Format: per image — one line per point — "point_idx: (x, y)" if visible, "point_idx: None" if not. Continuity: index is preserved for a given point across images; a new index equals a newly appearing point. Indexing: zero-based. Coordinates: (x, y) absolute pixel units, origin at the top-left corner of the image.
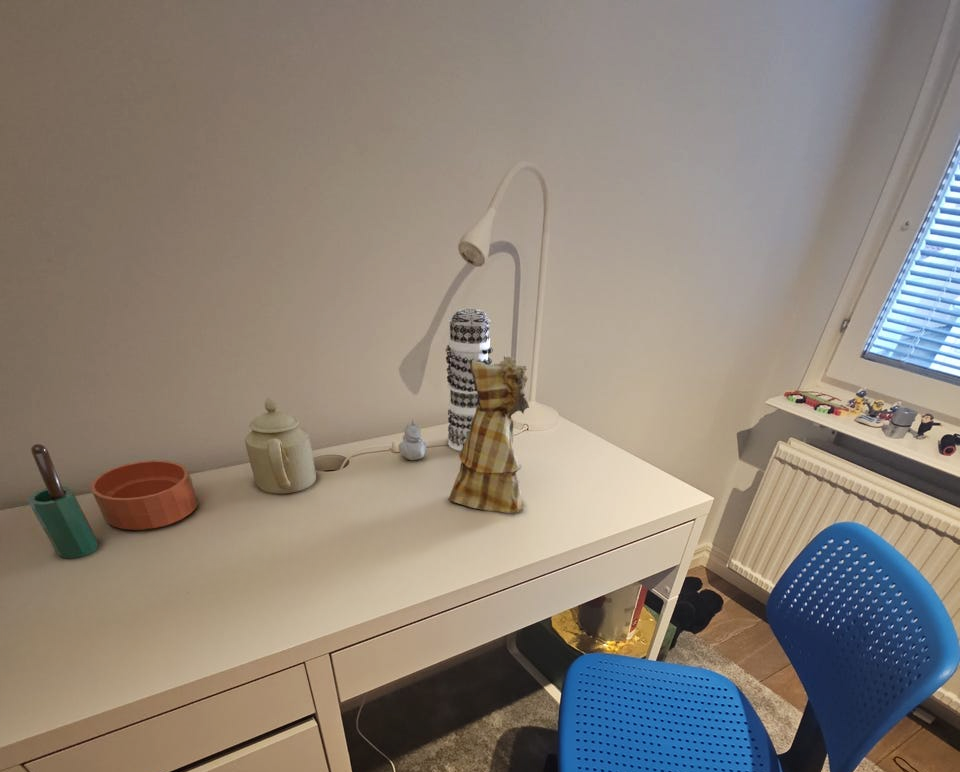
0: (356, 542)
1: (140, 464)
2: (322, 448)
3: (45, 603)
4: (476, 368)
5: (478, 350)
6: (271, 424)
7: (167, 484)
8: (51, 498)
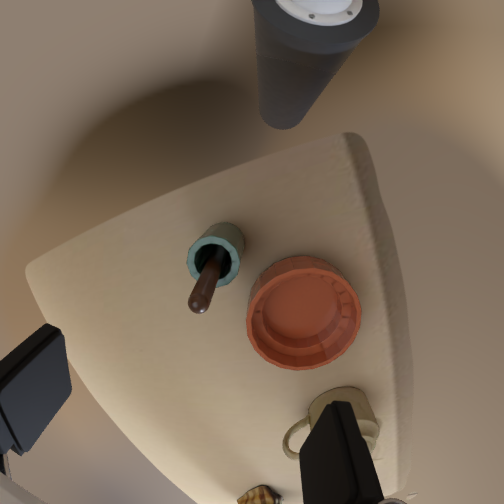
0: (210, 445)
1: (356, 310)
2: (396, 420)
3: (129, 241)
4: None
5: None
6: None
7: (335, 324)
8: (205, 265)
